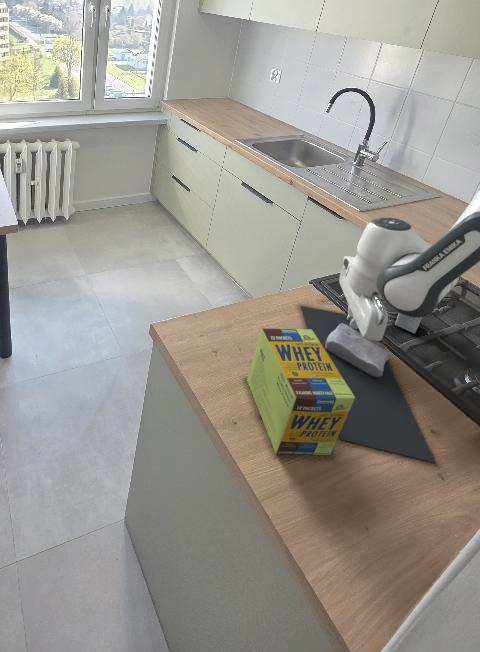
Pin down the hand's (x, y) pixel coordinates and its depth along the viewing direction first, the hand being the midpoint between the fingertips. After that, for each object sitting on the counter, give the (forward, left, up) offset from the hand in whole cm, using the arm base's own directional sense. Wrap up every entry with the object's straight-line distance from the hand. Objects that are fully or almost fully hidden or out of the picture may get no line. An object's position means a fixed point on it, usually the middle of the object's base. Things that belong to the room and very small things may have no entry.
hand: (351, 324), depth 102 cm
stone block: (+1, +7, -2) cm, 7 cm away
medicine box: (-16, -8, -2) cm, 18 cm away
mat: (+2, +12, -2) cm, 12 cm away
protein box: (+19, +28, -2) cm, 34 cm away
